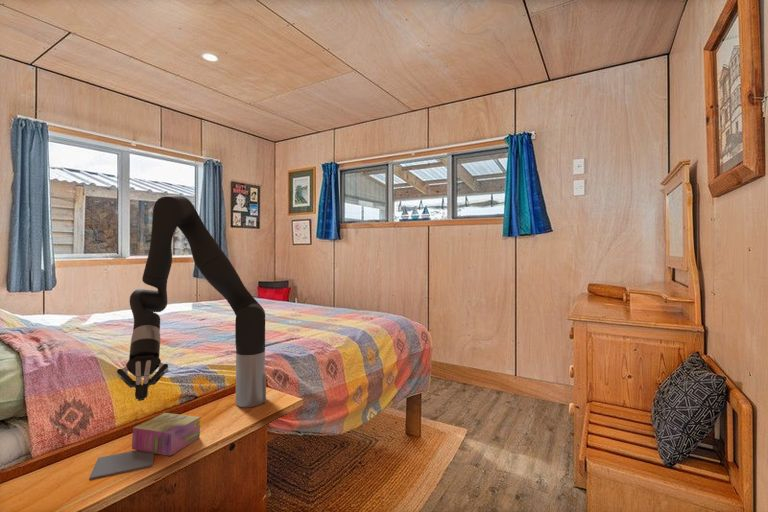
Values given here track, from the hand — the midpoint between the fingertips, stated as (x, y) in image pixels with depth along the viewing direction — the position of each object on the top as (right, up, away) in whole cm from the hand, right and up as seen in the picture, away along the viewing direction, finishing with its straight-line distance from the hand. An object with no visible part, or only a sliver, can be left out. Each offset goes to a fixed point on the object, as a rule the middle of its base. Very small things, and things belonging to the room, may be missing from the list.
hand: (141, 399), depth 102 cm
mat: (+4, -11, -12) cm, 17 cm away
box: (+3, -8, -2) cm, 8 cm away
